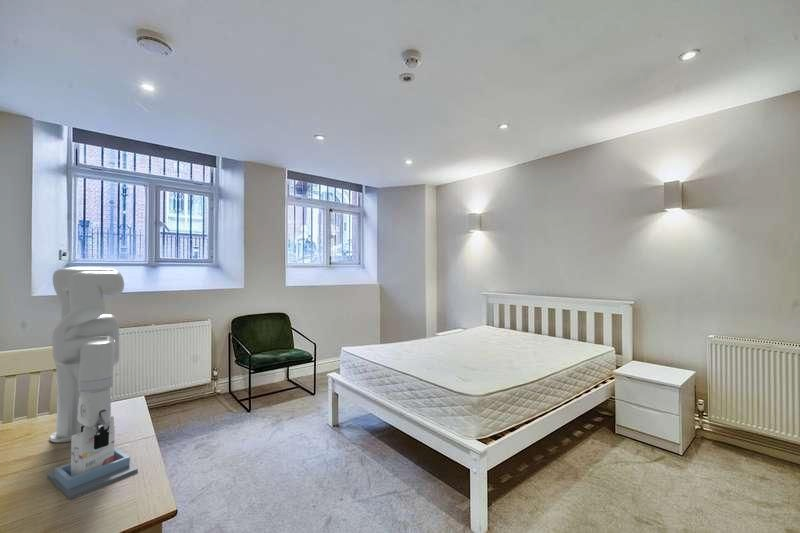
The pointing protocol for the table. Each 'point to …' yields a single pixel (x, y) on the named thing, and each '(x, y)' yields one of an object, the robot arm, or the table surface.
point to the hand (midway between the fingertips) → (94, 442)
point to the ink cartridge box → (90, 450)
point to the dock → (92, 476)
